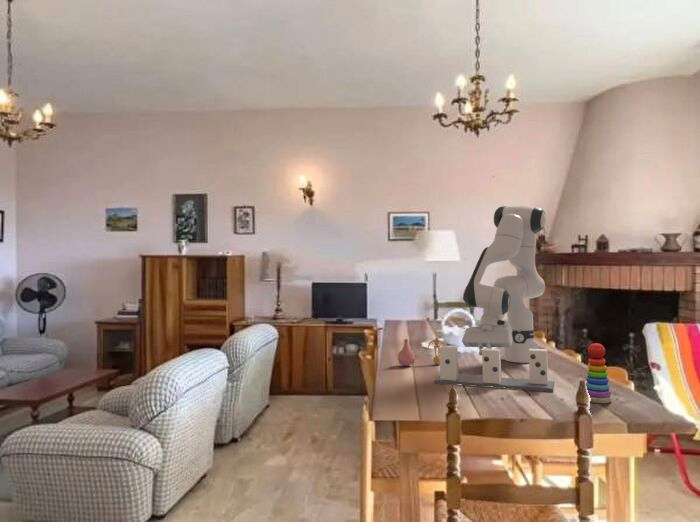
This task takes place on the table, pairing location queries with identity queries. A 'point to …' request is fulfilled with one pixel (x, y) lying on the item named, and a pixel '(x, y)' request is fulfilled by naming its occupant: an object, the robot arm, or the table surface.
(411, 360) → the perfume bottle
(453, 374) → the key one
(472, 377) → the grey flat board
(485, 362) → the key two
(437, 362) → the figurine
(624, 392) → the table surface
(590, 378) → the stacking toy
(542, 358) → the key three
